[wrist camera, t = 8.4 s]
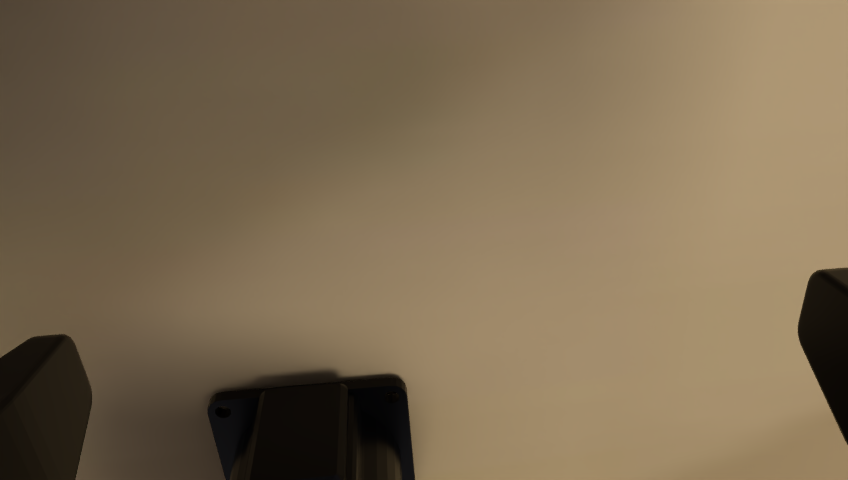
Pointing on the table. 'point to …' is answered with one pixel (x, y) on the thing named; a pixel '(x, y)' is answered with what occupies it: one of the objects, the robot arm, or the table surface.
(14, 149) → the table surface
